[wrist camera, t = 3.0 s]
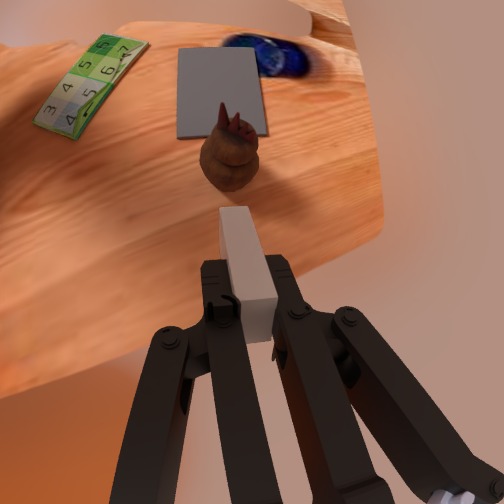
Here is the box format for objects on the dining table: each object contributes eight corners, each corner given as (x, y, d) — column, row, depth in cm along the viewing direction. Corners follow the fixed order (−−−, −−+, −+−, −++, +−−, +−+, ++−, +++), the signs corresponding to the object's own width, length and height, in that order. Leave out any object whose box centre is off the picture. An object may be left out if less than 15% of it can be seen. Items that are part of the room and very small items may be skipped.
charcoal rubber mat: (265, 135, 39) (266, 133, 39) (177, 139, 37) (177, 137, 36) (253, 50, 41) (253, 47, 40) (178, 50, 39) (178, 48, 38)
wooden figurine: (191, 169, 37) (189, 104, 22) (224, 143, 38) (240, 73, 23) (226, 207, 37) (244, 159, 23) (259, 179, 38) (294, 121, 24)
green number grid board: (149, 46, 38) (104, 36, 37) (148, 41, 37) (103, 31, 36) (77, 142, 35) (34, 125, 34) (74, 138, 34) (30, 121, 33)
